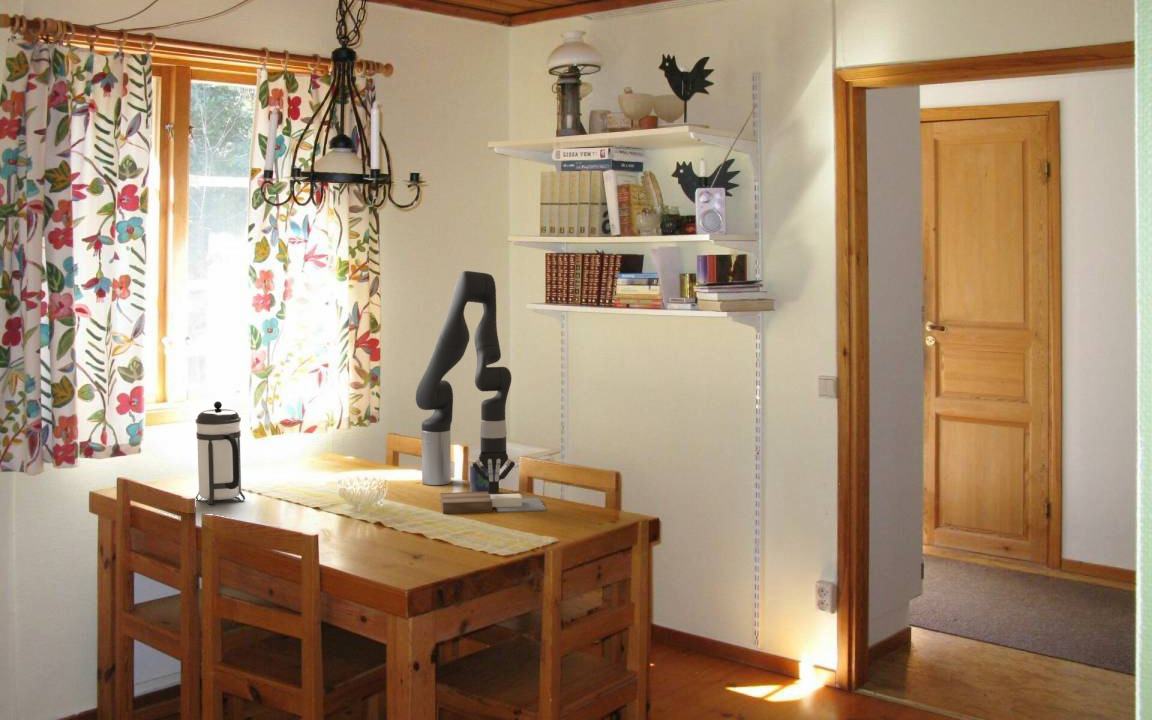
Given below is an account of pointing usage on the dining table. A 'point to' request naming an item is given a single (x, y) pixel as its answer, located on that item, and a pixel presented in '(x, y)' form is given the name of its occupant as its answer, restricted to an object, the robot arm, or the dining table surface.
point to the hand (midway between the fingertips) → (493, 493)
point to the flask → (479, 480)
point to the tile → (506, 500)
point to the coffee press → (219, 454)
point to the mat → (524, 506)
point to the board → (466, 502)
